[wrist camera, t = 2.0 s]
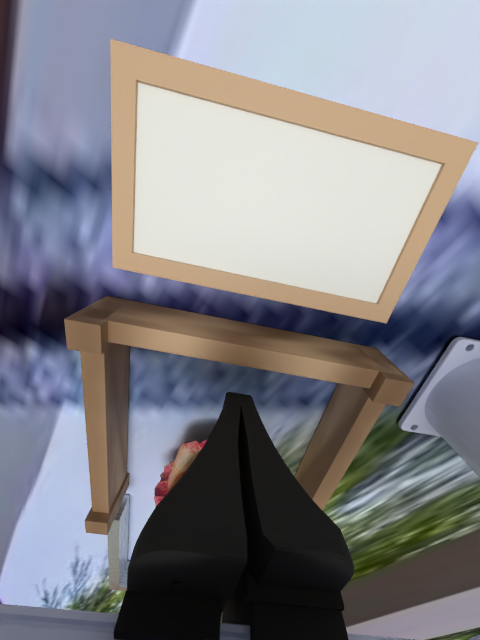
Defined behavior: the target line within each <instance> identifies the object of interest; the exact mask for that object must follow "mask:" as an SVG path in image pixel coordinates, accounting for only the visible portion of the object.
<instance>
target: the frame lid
mask: <svg viewBox="0 0 480 640" xmlns="http://www.w3.org/2000/svg"><path fill="white" fill-rule="evenodd" d="M111 142H112V247H113V268H118V269H123V270H127V271H132V272H137V273H142V274H147V275H152V276H157V277H162V278H167V279H171V280H176V281H181V282H186V283H191V284H196V285H201V286H206V287H211V288H216V289H220V290H225V291H230V292H235V293H240V294H245V295H250V296H255V297H260V298H264V299H269V300H274V301H279V302H284V303H289V304H294V305H299V306H304V307H309V308H313V309H318V310H323V311H328V312H333V313H338V314H343V315H348V316H353V317H357V318H362V319H367V320H372V321H377V322H382V323H387V321H388V319H389V317H390V315H391V313H392V311H393V309H394V308H395V306H396V304H397V302H398V300H399V298H400V296H401V294H402V292H403V290H404V288H405V286H406V284H407V282H408V280H409V278H410V276H411V274H412V272H413V270H414V268H415V266H416V264H417V262H418V260H419V258H420V256H421V254H422V252H423V250H424V248H425V247H426V245H427V243H428V241H429V239H430V237H431V235H432V233H433V231H434V229H435V227H436V225H437V223H438V221H439V219H440V217H441V215H442V213H443V211H444V209H445V207H446V205H447V203H448V201H449V199H450V197H451V195H452V193H453V191H454V189H455V188H456V186H457V184H458V182H459V180H460V178H461V176H462V174H463V172H464V170H465V168H466V166H467V164H468V162H469V160H470V158H471V156H472V154H473V152H474V150H475V148H476V146H477V144H478V142H474V141H471V140H467V139H464V138H460V137H456V136H453V135H449V134H446V133H442V132H439V131H435V130H432V129H428V128H425V127H421V126H418V125H414V124H410V123H407V122H403V121H400V120H396V119H393V118H389V117H386V116H382V115H379V114H375V113H372V112H368V111H364V110H361V109H357V108H354V107H350V106H347V105H343V104H340V103H336V102H333V101H329V100H326V99H322V98H318V97H315V96H311V95H308V94H304V93H301V92H297V91H294V90H290V89H287V88H283V87H279V86H276V85H272V84H269V83H265V82H262V81H258V80H255V79H251V78H248V77H244V76H241V75H237V74H233V73H230V72H226V71H223V70H219V69H216V68H212V67H209V66H205V65H202V64H198V63H195V62H191V61H187V60H184V59H180V58H177V57H173V56H170V55H166V54H163V53H159V52H156V51H152V50H149V49H145V48H141V47H138V46H134V45H131V44H127V43H124V42H120V41H117V40H113V39H111Z"/></svg>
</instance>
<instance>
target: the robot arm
mask: <svg viewBox="0 0 480 640" xmlns="http://www.w3.org/2000/svg"><path fill="white" fill-rule="evenodd" d="M398 425H399V426H400V428H401V429H402V430H404V431H410V432H416V433H422V434H428V435H434V436H440V437H442V438H443V439H444V440H445V441H446V442H447V443H448V444H449V445H450V446H451V447H452V448H453V449H454V450H455V452H456V453H457V454H458V455H459V456H460V457H461V458H462V459H463V460H464V461H465V462H466V463H467V464H468V465H469V466H470V467H471V468H472V470H473V471H474V472H475V473H476V474H477V475H478V476H479V477H480V340H475V339H470V338H465V337H457V338H455V339H453V340H452V341H451V343H450V344H449V346H448V347H447V349H446V350H445V352H444V353H443V355H442V356H441V358H440V359H439V361H438V363H437V364H436V366H435V367H434V369H433V370H432V372H431V373H430V375H429V376H428V378H427V379H426V381H425V382H424V384H423V385H422V387H421V389H420V390H419V392H418V393H417V395H416V396H415V398H414V399H413V401H412V402H411V404H410V405H409V407H408V408H407V410H406V411H405V413H404V415H403V416H402V418H401V419H400V421H399V423H398ZM353 573H354V565H353V562H352V559H351V556H350V553H349V550H348V547H347V545H346V542H345V540H344V537H343V535H342V533H341V530H340V529H339V528H338V527H337V525H336V524H335V523H334V522H333V521H332V520H331V519H330V518H329V517H328V516H327V515H326V514H325V513H324V512H323V511H322V510H321V509H320V508H319V506H318V505H317V504H316V503H315V502H314V501H313V500H312V498H311V497H310V496H309V495H308V494H307V492H306V491H305V490H304V489H303V487H302V486H301V485H300V483H299V482H298V481H297V479H296V478H295V477H294V476H293V474H292V473H291V471H290V470H289V468H288V467H287V466H286V464H285V463H284V461H283V459H282V458H281V456H280V455H279V453H278V451H277V450H276V448H275V446H274V444H273V443H272V441H271V439H270V437H269V435H268V433H267V431H266V429H265V427H264V425H263V423H262V421H261V419H260V416H259V414H258V412H257V409H256V407H255V404H254V401H253V398H252V397H251V395H245V394H239V393H233V392H228V393H226V397H225V401H224V405H223V409H222V412H221V414H220V416H219V419H218V421H217V423H216V425H215V427H214V429H213V431H212V433H211V434H210V436H209V438H208V440H207V441H206V443H205V445H204V446H203V448H202V449H201V451H200V452H199V454H198V455H197V457H196V458H195V460H194V461H193V462H192V464H191V465H190V467H189V468H188V469H187V470H186V472H185V473H184V474H183V475H182V477H181V478H180V479H179V481H178V482H177V483H176V484H175V485H174V487H173V488H172V489H171V490H170V491H169V492H168V493H167V494H166V496H165V497H164V498H163V499H162V500H161V501H160V502H159V503H158V505H157V506H156V508H155V510H154V511H153V513H152V514H151V516H150V518H149V519H148V521H147V523H146V524H145V526H144V528H143V530H142V532H141V533H140V535H139V537H138V540H137V542H136V544H135V547H134V550H133V553H132V556H131V559H130V563H129V566H128V570H127V590H126V593H125V596H124V599H123V603H122V606H121V609H120V612H119V614H111V613H99V612H87V611H76V610H64V609H52V608H41V607H29V606H17V605H6V604H0V640H415V639H403V638H391V637H379V636H368V635H356V634H347V631H346V627H345V623H344V619H343V616H342V612H341V611H343V610H344V603H343V600H342V596H341V592H340V591H341V590H342V589H343V587H344V586H345V585H346V584H347V583H348V582H349V580H350V579H351V577H352V576H353ZM222 612H223V615H222V623H220V621H221V614H222ZM469 640H480V635H477V636H474V637H472V638H470V639H469Z"/></svg>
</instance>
